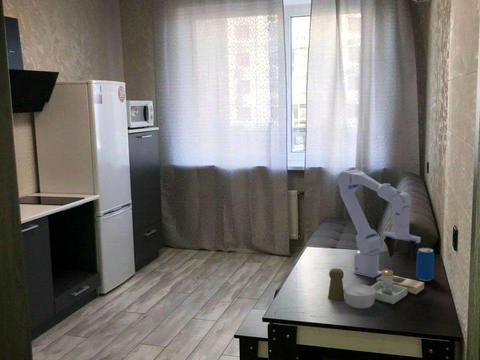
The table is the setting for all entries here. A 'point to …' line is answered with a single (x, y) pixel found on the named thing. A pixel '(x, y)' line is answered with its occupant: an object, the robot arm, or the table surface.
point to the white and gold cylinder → (387, 282)
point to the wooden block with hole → (406, 284)
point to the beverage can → (425, 264)
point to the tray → (396, 296)
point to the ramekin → (359, 296)
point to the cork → (336, 285)
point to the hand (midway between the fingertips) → (400, 257)
